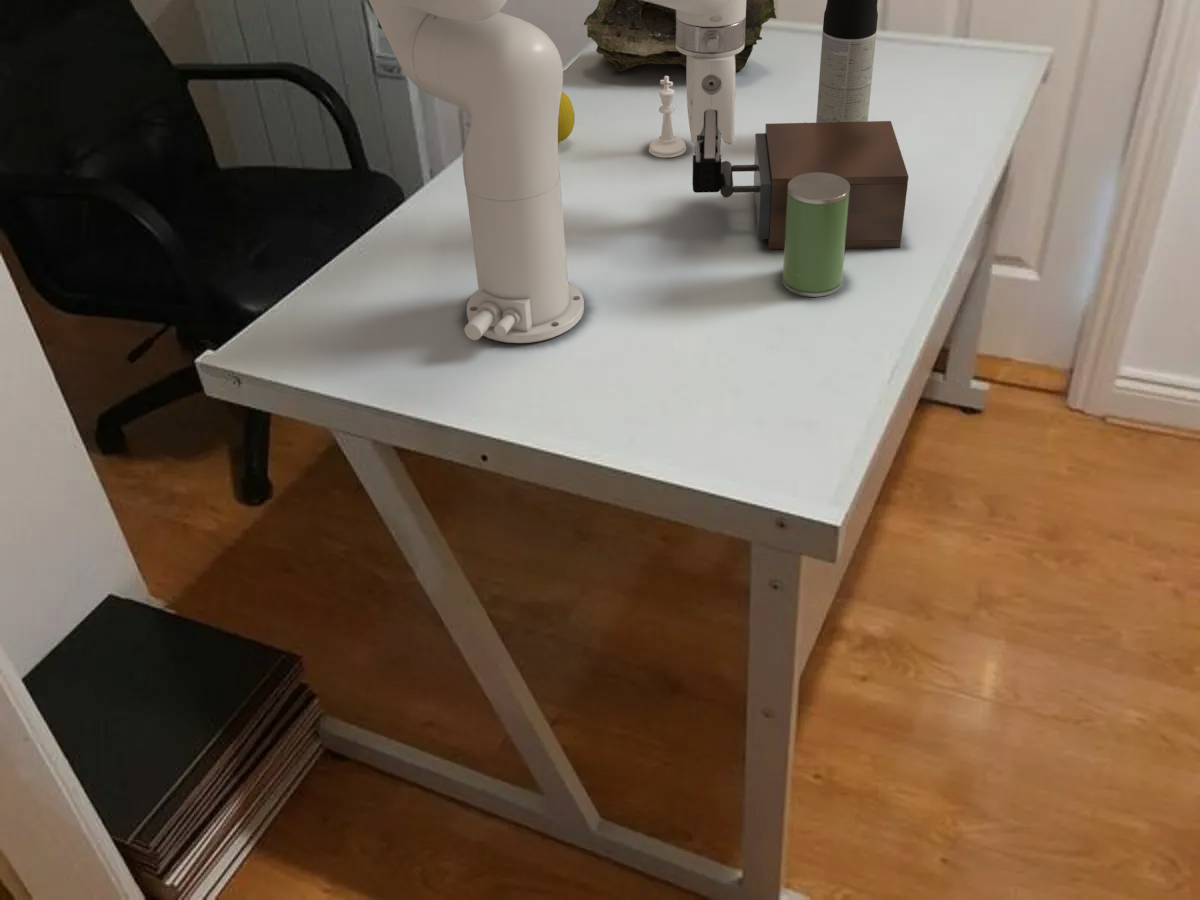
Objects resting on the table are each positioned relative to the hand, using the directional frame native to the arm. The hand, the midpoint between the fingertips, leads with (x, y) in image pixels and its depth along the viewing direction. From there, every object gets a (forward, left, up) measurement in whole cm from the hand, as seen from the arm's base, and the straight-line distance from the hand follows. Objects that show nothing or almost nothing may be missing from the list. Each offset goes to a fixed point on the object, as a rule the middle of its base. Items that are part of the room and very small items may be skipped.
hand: (706, 189), depth 144 cm
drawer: (+4, -10, -3) cm, 11 cm away
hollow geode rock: (+44, +19, -4) cm, 48 cm away
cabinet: (+5, -14, -4) cm, 15 cm away
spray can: (+26, -10, -4) cm, 28 cm away
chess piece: (+17, +11, -4) cm, 21 cm away
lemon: (+14, +26, -4) cm, 30 cm away
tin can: (-10, -16, -4) cm, 19 cm away
